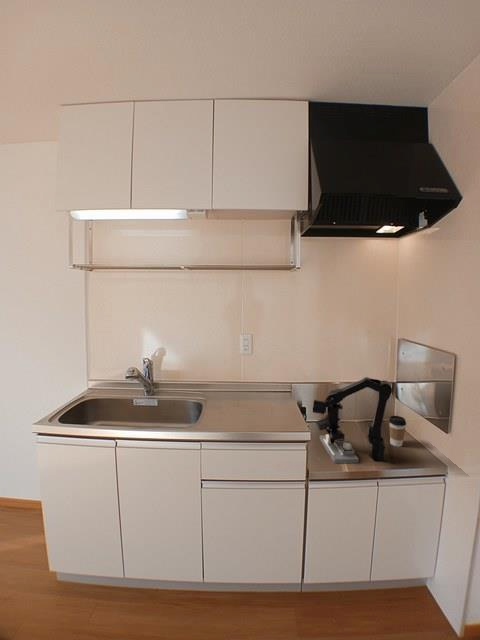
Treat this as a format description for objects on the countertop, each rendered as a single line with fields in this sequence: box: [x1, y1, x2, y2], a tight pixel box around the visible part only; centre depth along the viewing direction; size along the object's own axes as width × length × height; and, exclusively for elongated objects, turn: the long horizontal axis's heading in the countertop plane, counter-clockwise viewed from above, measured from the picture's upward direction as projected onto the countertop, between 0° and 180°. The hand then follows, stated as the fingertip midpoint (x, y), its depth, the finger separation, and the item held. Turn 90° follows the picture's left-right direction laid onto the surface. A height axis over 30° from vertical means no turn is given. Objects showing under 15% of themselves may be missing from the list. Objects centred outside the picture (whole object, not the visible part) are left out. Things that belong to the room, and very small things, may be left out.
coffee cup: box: [388, 415, 407, 448], centre depth 165 cm, size 8×8×15 cm
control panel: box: [319, 434, 360, 464], centre depth 160 cm, size 24×12×3 cm, turn 2°
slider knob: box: [325, 433, 334, 444], centre depth 163 cm, size 4×3×4 cm
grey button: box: [343, 441, 352, 450], centre depth 154 cm, size 4×4×2 cm
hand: (331, 443), depth 160 cm, fingers closed
